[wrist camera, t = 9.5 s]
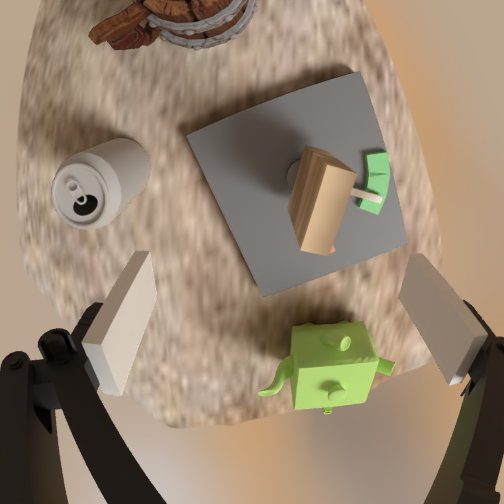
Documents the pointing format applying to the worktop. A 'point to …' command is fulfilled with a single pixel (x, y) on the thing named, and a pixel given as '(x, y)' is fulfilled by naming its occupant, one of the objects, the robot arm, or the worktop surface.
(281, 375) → the kettle
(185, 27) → the mug
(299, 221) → the peg key
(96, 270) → the worktop surface
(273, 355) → the worktop surface
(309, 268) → the board
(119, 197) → the can
